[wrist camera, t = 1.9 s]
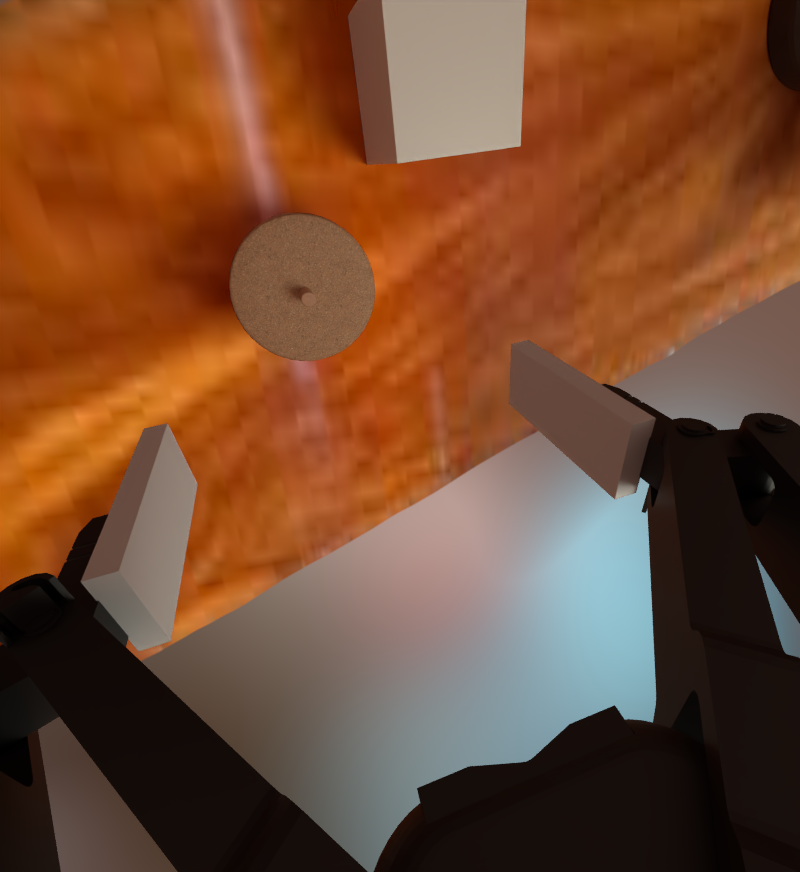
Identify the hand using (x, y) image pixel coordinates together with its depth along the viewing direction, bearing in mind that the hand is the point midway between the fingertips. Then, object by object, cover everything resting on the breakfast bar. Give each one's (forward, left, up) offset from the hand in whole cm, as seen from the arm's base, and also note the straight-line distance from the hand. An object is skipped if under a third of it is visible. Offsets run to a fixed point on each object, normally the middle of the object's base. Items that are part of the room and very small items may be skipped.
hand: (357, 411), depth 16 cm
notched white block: (+1, -17, -27) cm, 32 cm away
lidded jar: (0, 0, -27) cm, 27 cm away
